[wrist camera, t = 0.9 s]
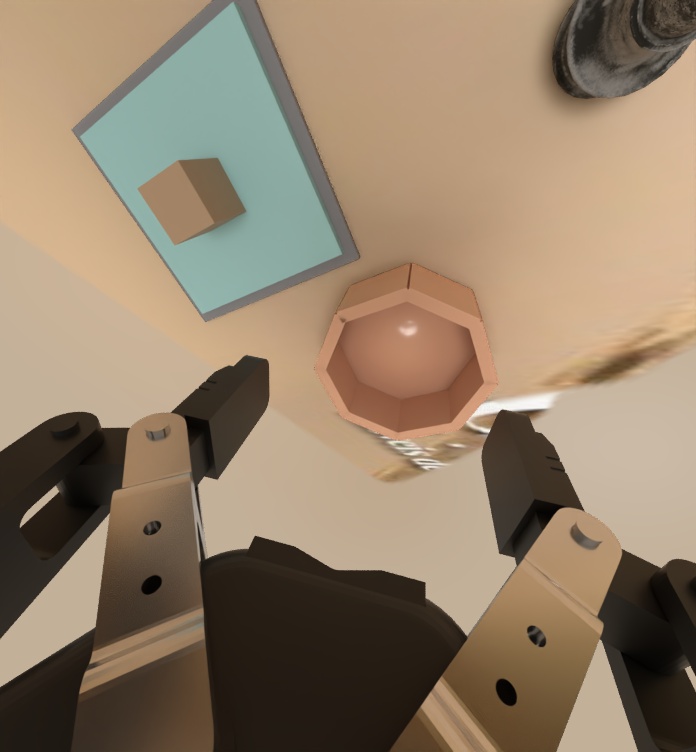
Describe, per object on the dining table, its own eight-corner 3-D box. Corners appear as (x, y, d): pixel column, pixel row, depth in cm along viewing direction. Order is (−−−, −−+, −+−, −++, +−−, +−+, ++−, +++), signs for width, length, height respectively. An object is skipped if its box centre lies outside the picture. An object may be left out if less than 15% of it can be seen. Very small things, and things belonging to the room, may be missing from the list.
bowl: (311, 300, 32) (291, 328, 27) (461, 243, 26) (468, 265, 21) (367, 409, 38) (358, 447, 33) (496, 381, 33) (508, 421, 28)
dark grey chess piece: (688, 32, 18) (984, -95, 9) (577, 129, 21) (702, 115, 12) (640, -79, 16) (941, -395, 7) (527, 43, 20) (624, -56, 10)
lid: (88, 137, 27) (16, 135, 22) (239, 6, 21) (184, -36, 16) (206, 310, 34) (171, 337, 29) (344, 251, 28) (327, 273, 23)
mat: (76, 129, 27) (71, 129, 27) (246, -24, 20) (242, -27, 20) (207, 320, 35) (205, 322, 35) (360, 257, 28) (359, 258, 28)
